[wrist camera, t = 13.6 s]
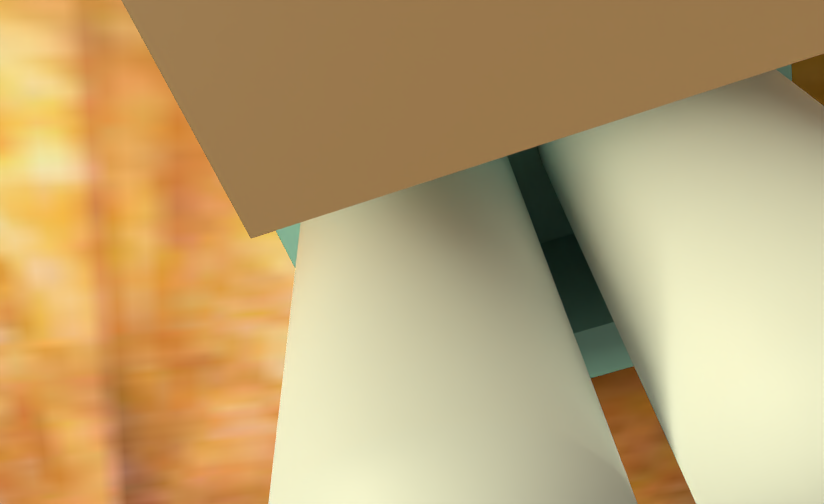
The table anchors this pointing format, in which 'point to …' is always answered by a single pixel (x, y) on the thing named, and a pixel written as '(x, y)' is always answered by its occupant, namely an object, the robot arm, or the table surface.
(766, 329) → the green pegged base
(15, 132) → the table surface
